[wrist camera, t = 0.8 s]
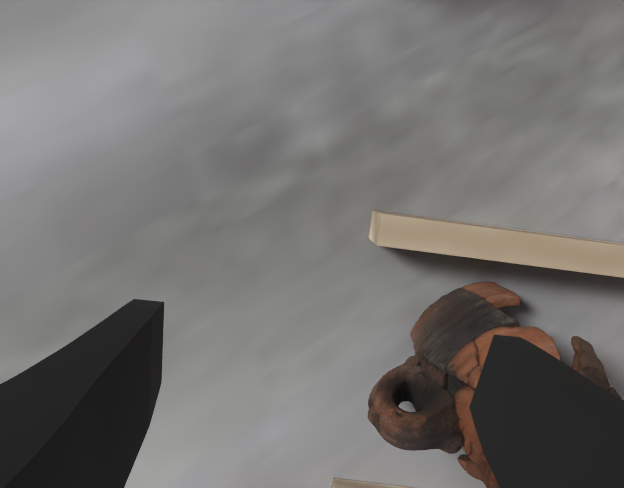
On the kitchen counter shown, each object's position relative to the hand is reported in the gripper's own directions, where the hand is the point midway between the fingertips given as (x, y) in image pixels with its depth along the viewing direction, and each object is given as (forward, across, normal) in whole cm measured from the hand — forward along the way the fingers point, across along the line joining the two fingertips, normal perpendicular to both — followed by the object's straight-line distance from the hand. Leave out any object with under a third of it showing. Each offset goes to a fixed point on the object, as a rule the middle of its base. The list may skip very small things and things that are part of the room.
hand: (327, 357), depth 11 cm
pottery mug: (+13, -10, +9) cm, 19 cm away
